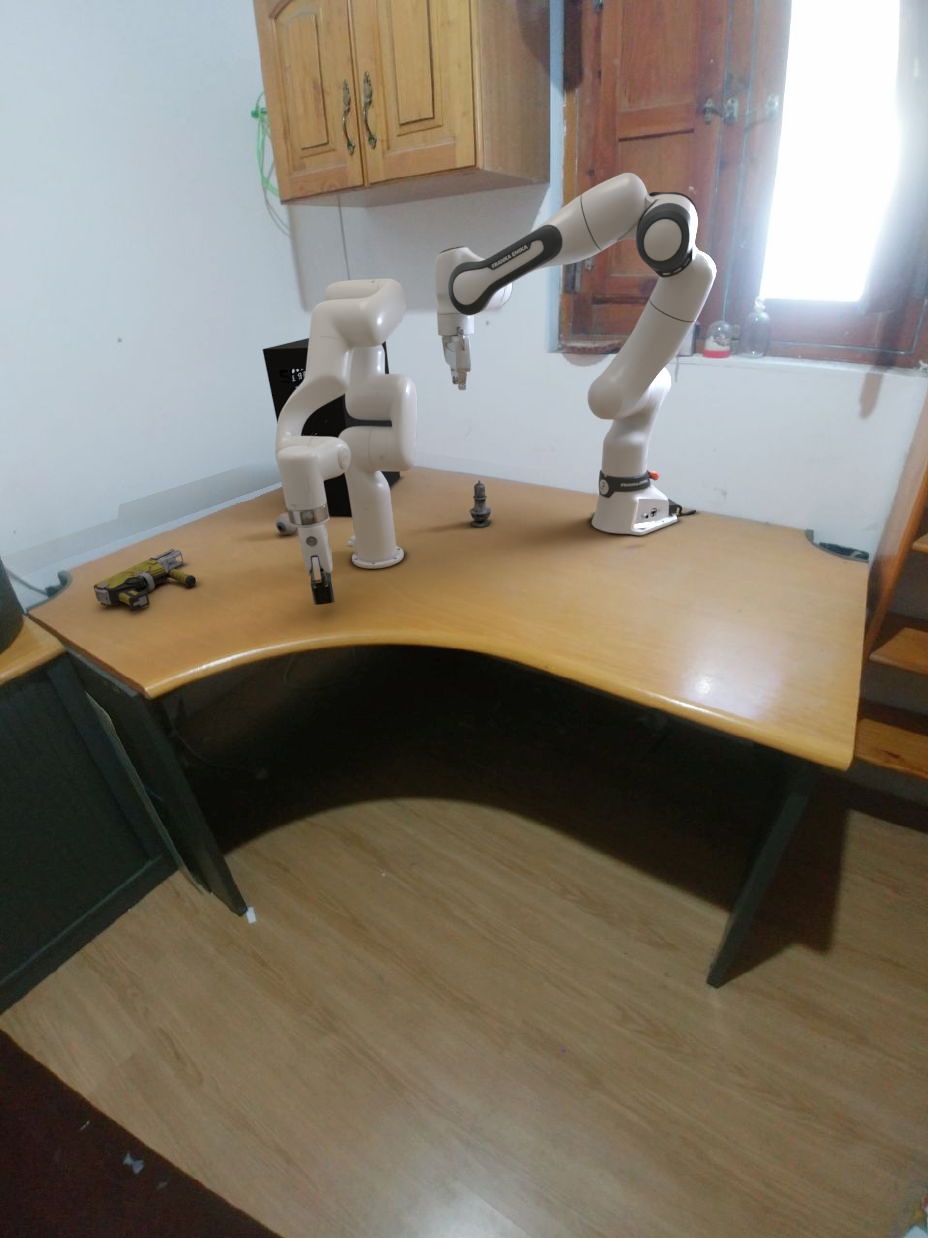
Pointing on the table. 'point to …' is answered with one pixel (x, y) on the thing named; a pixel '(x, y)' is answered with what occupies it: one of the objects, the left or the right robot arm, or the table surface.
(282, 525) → the eyeball
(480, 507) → the grey chess piece
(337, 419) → the black tall box
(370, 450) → the left robot arm
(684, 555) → the table surface
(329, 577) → the cube
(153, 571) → the toy gun
